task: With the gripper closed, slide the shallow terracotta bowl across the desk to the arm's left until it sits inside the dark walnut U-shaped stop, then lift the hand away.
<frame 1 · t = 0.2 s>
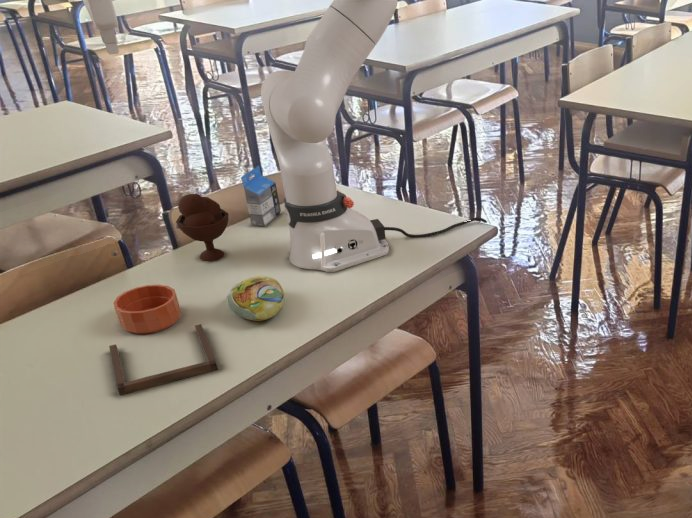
hand: (111, 48, 134), 48 cm above the table, tool pointing down, fingers open, 8 cm apart
cell model: (260, 310, 154), on the table
ice cream bowl: (212, 257, 174), on the table
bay: (163, 359, 139), on the table
blue and grey box: (266, 220, 191), on the table
bowl: (152, 320, 150), on the table
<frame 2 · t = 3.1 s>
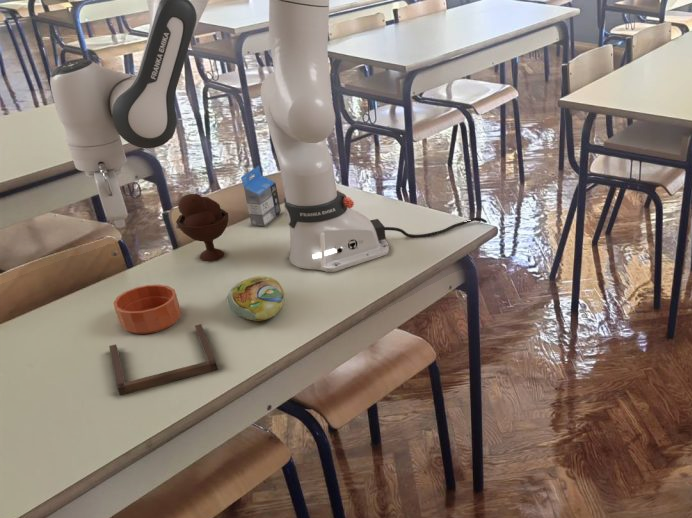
hand: (120, 225, 149), 16 cm above the table, tool pointing down, fingers closed
nothing on the table moved.
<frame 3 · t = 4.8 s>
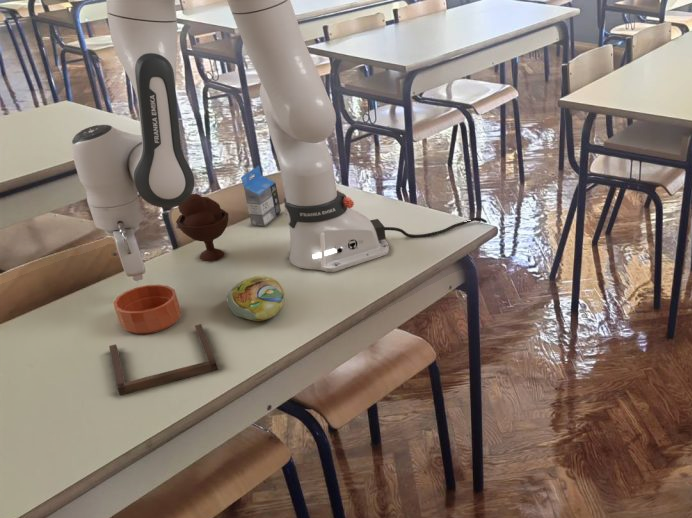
hand: (137, 277, 154), 5 cm above the table, tool pointing down, fingers closed
nothing on the table moved.
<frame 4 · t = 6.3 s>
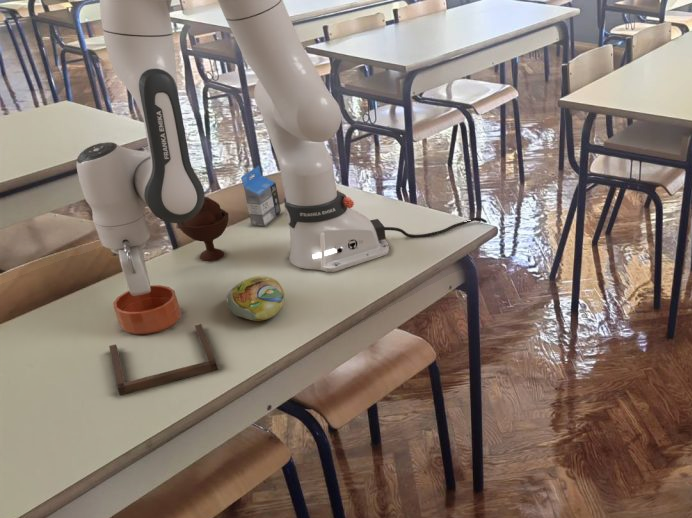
hand: (144, 294, 153), 3 cm above the table, tool pointing down, fingers closed, pressing on bowl
bowl: (151, 321, 150), on the table, touching gripper
everything else where it was.
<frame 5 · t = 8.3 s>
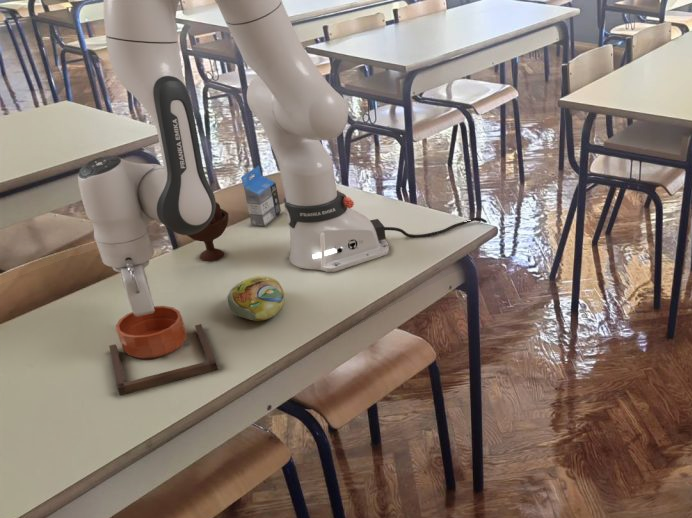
hand: (146, 314, 146), 3 cm above the table, tool pointing down, fingers closed
bowl: (156, 343, 143), on the table, touching gripper
everything else where it was.
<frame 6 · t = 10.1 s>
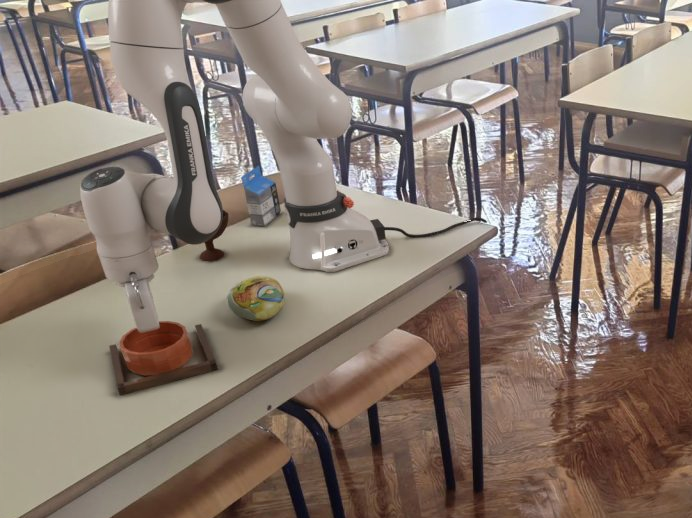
hand: (151, 329, 142), 3 cm above the table, tool pointing down, fingers closed
bowl: (161, 360, 138), on the table, touching gripper
everything else where it was.
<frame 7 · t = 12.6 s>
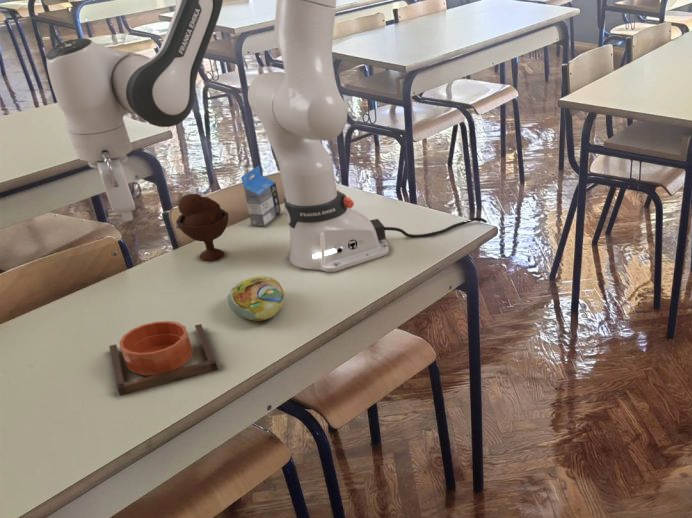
hand: (127, 218, 139), 21 cm above the table, tool pointing down, fingers closed
bowl: (161, 360, 138), on the table
everything else where it was.
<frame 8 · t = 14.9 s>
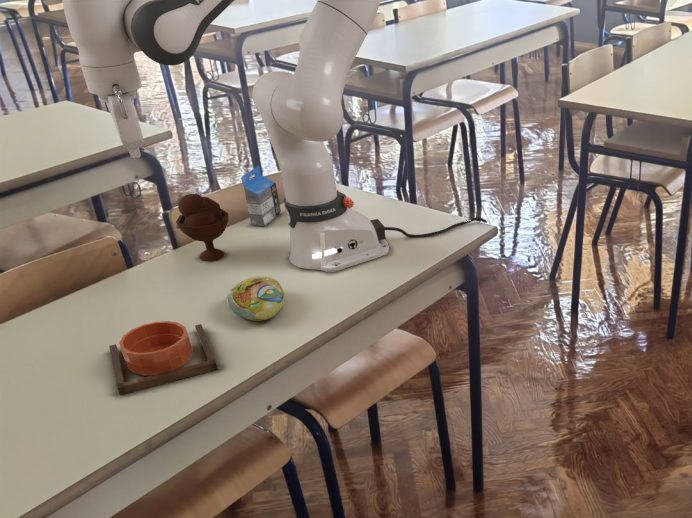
hand: (135, 155, 143), 29 cm above the table, tool pointing down, fingers closed
nothing on the table moved.
at the end: bowl inside the target area on the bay (0.5 cm from its centre), point 0.0 cm above the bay's base; bowl tilted 0°; bowl moved 16.1 cm from its start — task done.
